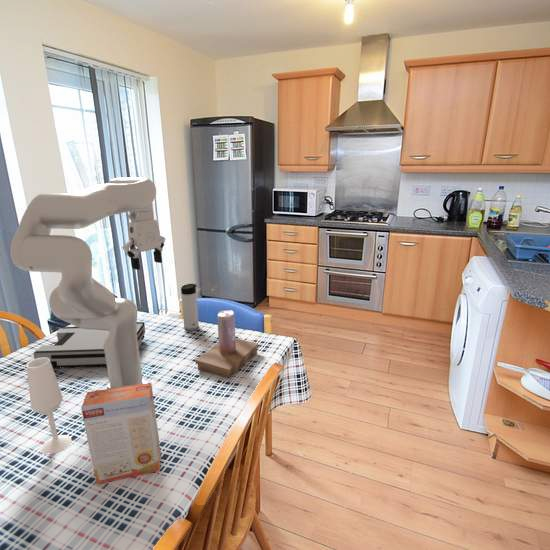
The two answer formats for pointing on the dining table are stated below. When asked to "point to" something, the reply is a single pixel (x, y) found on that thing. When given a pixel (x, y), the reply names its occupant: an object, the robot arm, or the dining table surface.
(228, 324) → the beverage can
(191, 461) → the dining table surface
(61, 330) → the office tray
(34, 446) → the dining table surface
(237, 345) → the brown flat block
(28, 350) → the dining table surface
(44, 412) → the champagne flute
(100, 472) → the cracker box
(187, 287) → the travel mug
